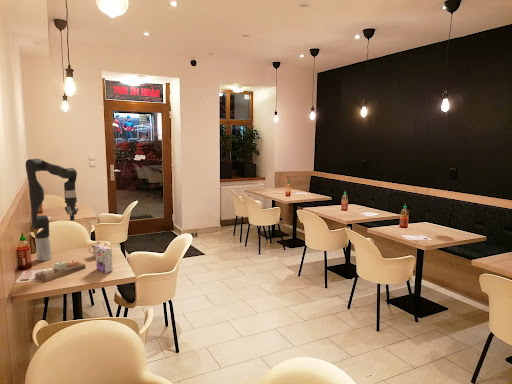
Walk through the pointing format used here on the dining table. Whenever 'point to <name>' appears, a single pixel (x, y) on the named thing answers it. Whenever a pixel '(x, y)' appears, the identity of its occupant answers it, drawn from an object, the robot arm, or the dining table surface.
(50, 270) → the key one
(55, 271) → the key block
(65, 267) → the key two
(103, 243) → the teacup with lid
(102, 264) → the candy box
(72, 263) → the key three
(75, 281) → the dining table surface
